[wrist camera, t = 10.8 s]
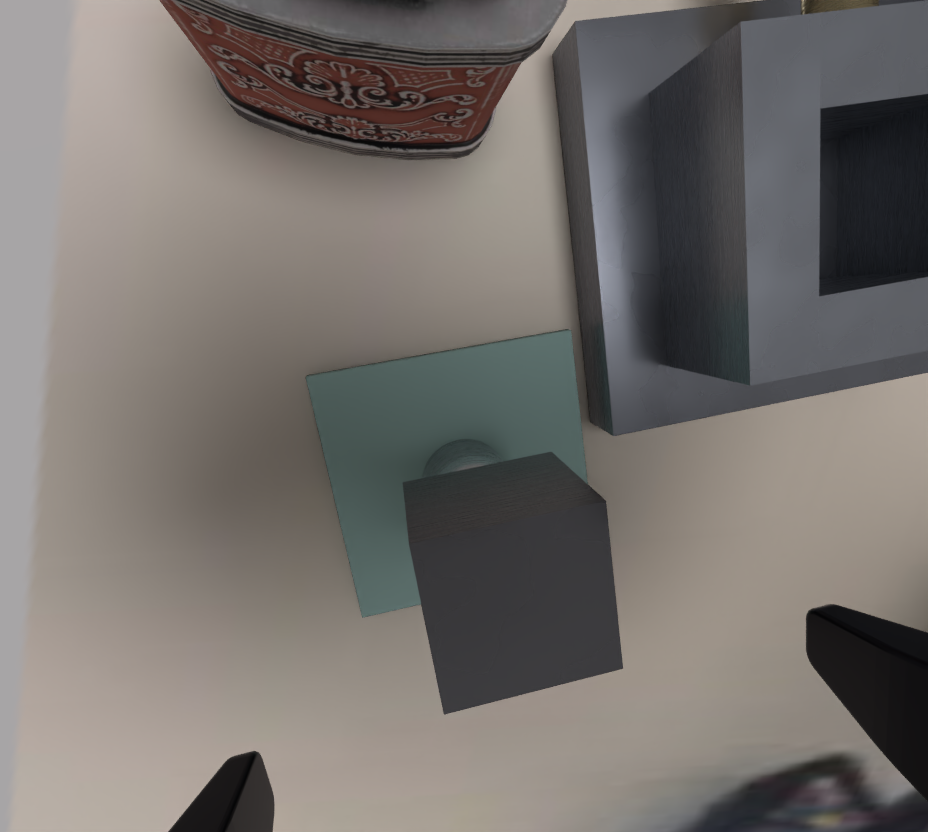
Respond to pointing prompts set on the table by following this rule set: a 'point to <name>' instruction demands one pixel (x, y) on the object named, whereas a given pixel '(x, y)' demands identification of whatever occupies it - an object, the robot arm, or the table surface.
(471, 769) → the table surface
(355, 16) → the lighter
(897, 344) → the block
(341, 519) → the rest mat
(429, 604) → the square headed peg
